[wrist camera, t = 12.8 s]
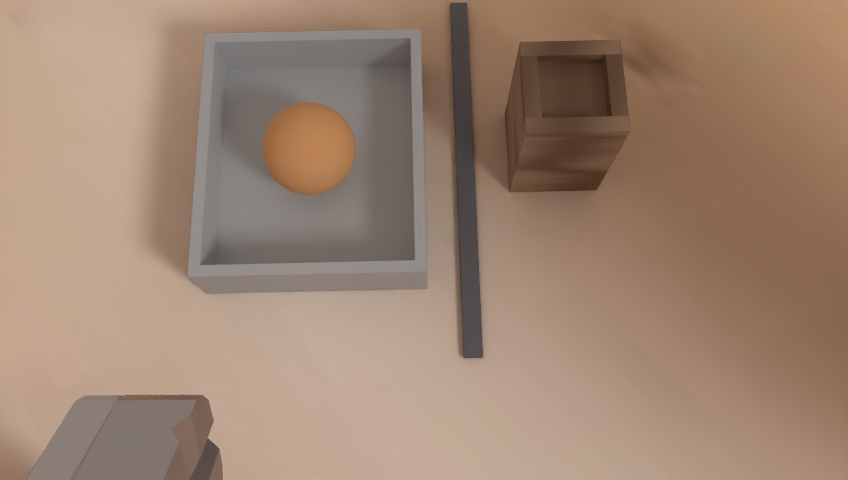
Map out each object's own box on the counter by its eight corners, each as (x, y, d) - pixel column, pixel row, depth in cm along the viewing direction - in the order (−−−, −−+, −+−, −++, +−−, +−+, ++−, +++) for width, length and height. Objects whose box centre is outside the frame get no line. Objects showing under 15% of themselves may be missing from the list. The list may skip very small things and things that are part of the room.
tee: (588, 111, 46) (620, 39, 39) (596, 190, 45) (630, 131, 37) (504, 113, 46) (520, 42, 39) (509, 192, 45) (526, 133, 37)
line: (466, 5, 48) (466, 2, 48) (482, 357, 42) (482, 356, 42) (450, 5, 48) (450, 2, 48) (463, 358, 42) (464, 357, 42)
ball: (361, 125, 45) (348, 82, 40) (361, 206, 44) (347, 171, 39) (277, 129, 45) (253, 87, 41) (273, 209, 44) (249, 176, 39)
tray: (421, 61, 47) (420, 28, 44) (426, 288, 43) (427, 271, 40) (220, 66, 47) (204, 33, 44) (206, 293, 43) (187, 276, 40)
